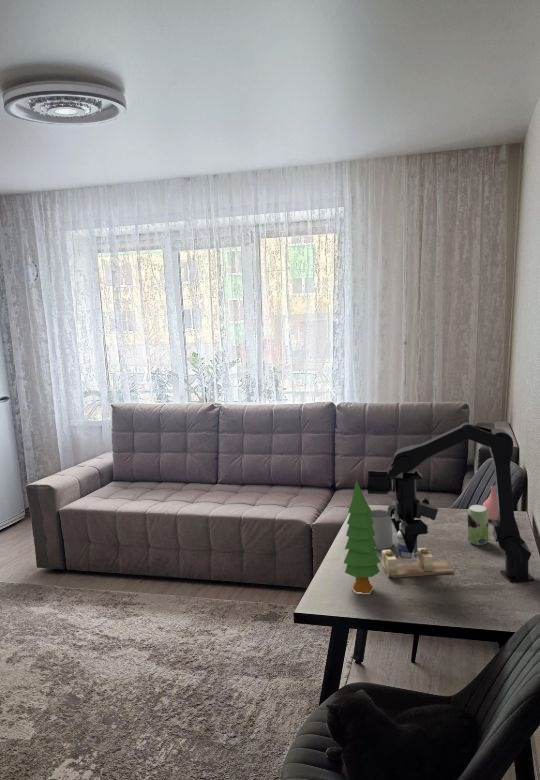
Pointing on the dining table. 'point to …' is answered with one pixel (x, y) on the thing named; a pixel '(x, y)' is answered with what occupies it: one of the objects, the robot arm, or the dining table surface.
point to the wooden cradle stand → (410, 567)
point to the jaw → (425, 559)
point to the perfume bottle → (492, 504)
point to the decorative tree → (361, 543)
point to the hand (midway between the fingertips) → (407, 548)
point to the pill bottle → (405, 549)
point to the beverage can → (478, 524)
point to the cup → (382, 529)
